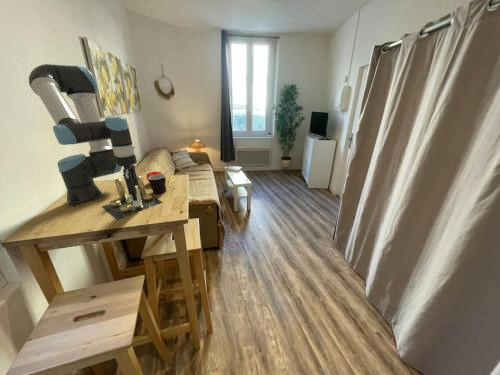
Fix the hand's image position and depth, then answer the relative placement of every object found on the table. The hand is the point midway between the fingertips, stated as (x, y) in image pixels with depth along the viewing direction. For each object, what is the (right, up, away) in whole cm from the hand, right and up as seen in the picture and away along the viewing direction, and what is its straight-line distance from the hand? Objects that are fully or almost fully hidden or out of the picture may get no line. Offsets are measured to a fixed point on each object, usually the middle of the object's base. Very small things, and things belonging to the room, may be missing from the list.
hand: (138, 203), depth 98 cm
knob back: (-13, 0, +6) cm, 14 cm away
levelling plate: (-5, -2, +5) cm, 8 cm away
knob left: (-2, +2, +11) cm, 11 cm away
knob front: (-3, -2, 0) cm, 4 cm away
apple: (-5, +9, +31) cm, 33 cm away
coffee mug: (+3, +5, +20) cm, 21 cm away
